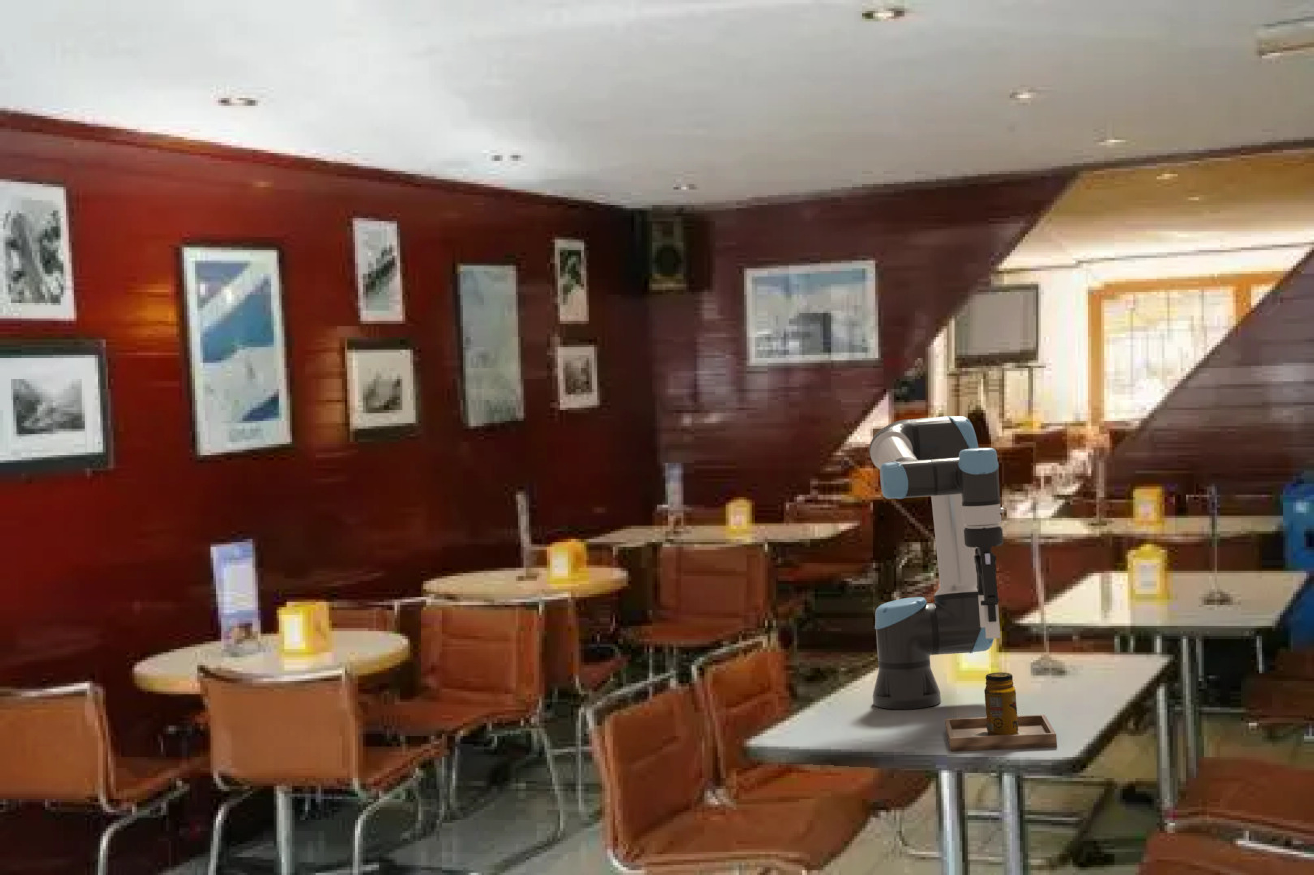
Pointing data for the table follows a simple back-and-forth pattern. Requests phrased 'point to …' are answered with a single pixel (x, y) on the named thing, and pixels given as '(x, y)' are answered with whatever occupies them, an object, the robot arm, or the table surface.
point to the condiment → (1000, 705)
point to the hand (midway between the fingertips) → (990, 632)
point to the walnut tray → (1033, 725)
